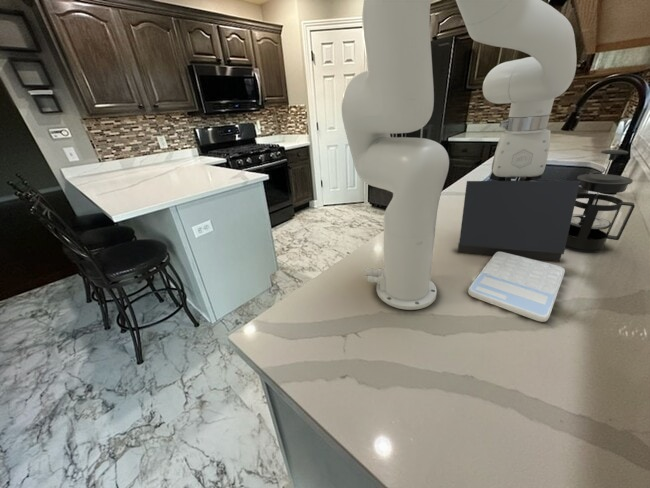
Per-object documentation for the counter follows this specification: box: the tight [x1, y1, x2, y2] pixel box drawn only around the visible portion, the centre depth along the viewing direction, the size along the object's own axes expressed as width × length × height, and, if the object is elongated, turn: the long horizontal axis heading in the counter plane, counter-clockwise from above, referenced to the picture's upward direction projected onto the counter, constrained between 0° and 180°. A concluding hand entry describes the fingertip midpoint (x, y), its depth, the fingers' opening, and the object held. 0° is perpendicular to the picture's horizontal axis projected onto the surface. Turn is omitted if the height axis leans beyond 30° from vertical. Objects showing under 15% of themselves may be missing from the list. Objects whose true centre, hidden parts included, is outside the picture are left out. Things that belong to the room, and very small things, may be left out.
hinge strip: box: [457, 243, 563, 262], centre depth 65 cm, size 22×1×2 cm, turn 68°
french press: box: [565, 149, 636, 253], centre depth 61 cm, size 12×9×23 cm
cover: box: [458, 180, 581, 255], centre depth 62 cm, size 22×16×1 cm
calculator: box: [467, 252, 566, 323], centre depth 55 cm, size 13×20×2 cm, turn 135°
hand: (508, 201), depth 67 cm, fingers closed
